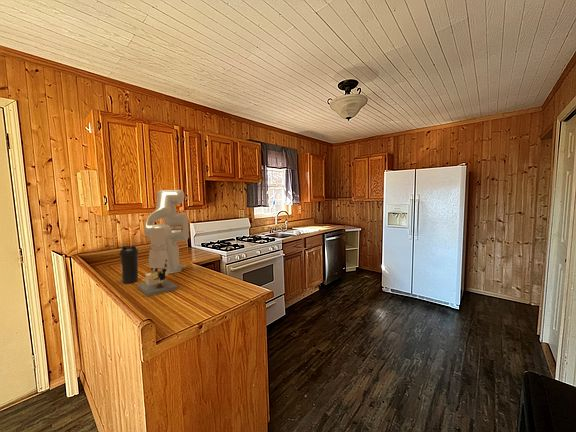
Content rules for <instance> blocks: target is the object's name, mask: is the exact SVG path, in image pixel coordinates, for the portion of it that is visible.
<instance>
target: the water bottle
mask: <svg viewBox="0 0 576 432" xmlns="http://www.w3.org/2000/svg"><path fill="white" fill-rule="evenodd" d="M118 255H119V256H120V268H121V278H122V280H121V281H122V284H125V285H126V284H134V283H136V282H138V281H139V263H138V262H139V258H138V257H139V250H138V249H137V246H136V245H133V246H130V245H129V246H127V245H124V246H123V245H122V246H121V250H120V251H119V254H118Z"/></svg>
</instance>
